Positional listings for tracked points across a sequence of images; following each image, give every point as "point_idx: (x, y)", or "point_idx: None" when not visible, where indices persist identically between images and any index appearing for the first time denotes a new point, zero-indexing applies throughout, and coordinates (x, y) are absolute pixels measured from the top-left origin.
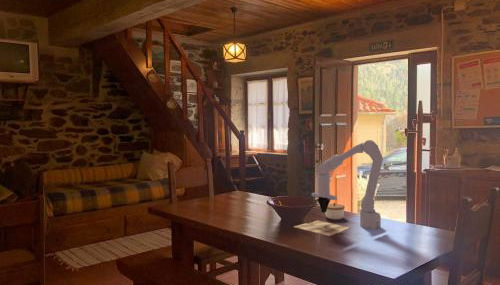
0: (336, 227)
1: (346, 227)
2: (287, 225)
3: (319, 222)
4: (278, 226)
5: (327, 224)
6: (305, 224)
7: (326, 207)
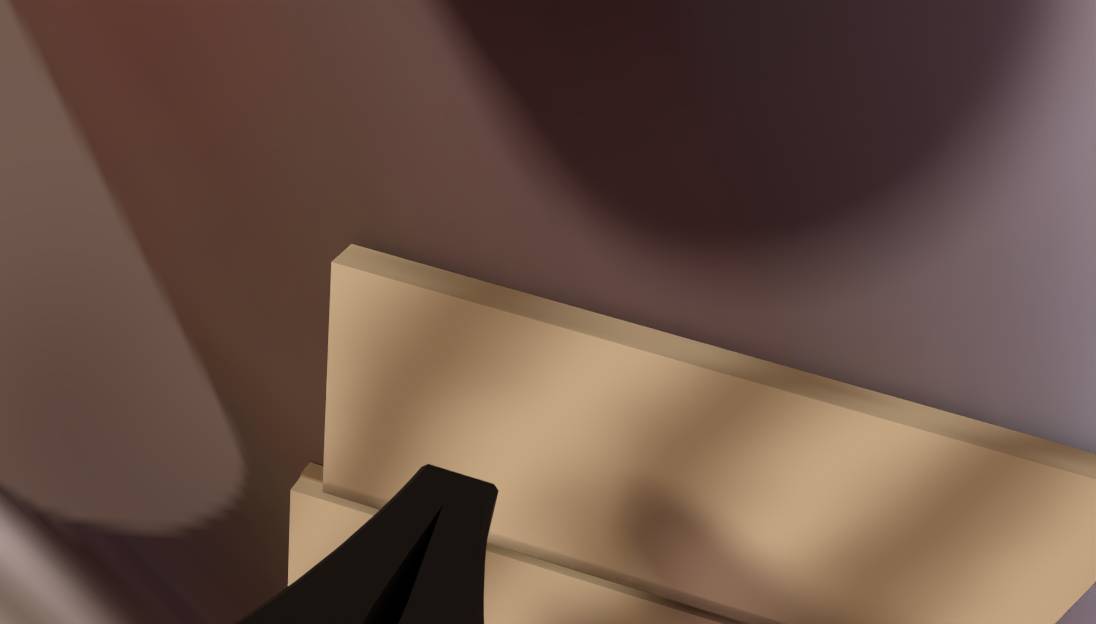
0: (866, 556)
1: (1082, 512)
2: (134, 541)
3: (444, 379)
4: (102, 607)
5: (639, 446)
6: (331, 551)
7: (466, 607)
